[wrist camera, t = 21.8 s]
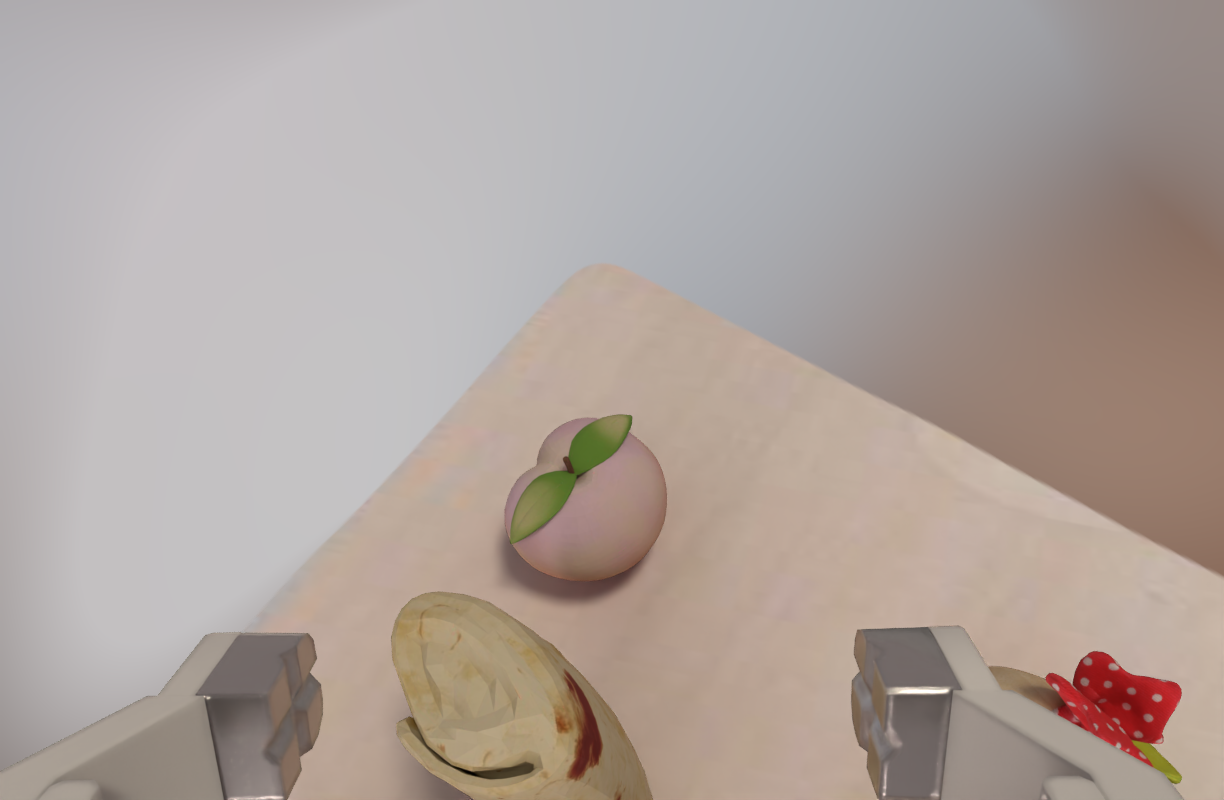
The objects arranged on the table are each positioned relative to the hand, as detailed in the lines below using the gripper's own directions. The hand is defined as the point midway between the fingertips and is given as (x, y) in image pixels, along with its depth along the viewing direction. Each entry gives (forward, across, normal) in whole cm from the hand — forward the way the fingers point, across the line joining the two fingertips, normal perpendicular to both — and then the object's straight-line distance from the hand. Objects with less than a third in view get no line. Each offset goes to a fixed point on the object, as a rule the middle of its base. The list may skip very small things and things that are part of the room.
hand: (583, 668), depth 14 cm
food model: (+28, +2, +26) cm, 38 cm away
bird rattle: (+26, -20, +23) cm, 40 cm away
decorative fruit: (+38, +1, +18) cm, 42 cm away
